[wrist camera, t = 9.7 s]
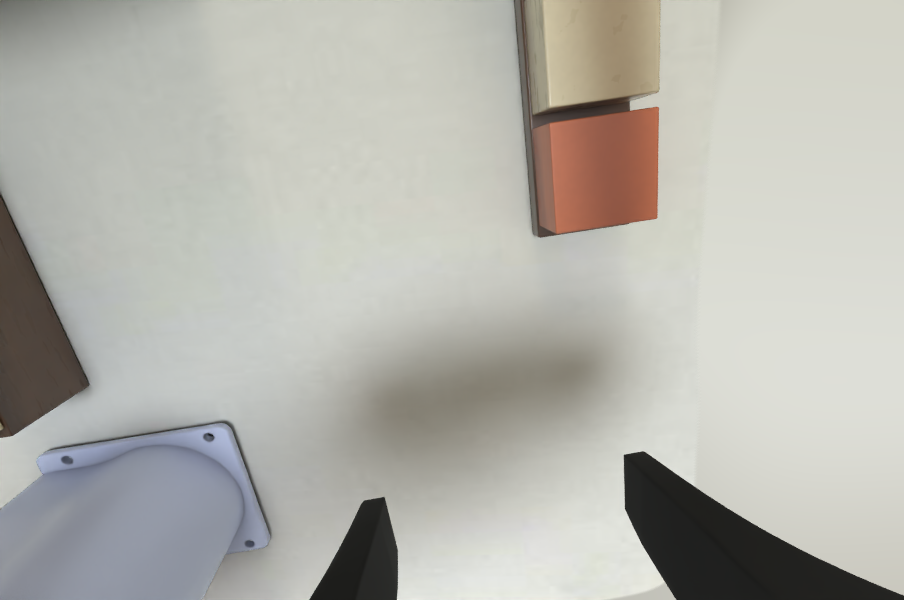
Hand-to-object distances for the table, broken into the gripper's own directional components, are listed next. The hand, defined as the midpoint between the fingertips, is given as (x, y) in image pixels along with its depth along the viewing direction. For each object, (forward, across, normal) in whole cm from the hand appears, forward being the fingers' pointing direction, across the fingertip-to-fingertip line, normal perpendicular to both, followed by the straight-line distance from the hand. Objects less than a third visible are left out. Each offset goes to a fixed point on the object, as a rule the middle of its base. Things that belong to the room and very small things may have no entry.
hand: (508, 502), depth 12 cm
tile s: (+8, -6, -8) cm, 13 cm away
